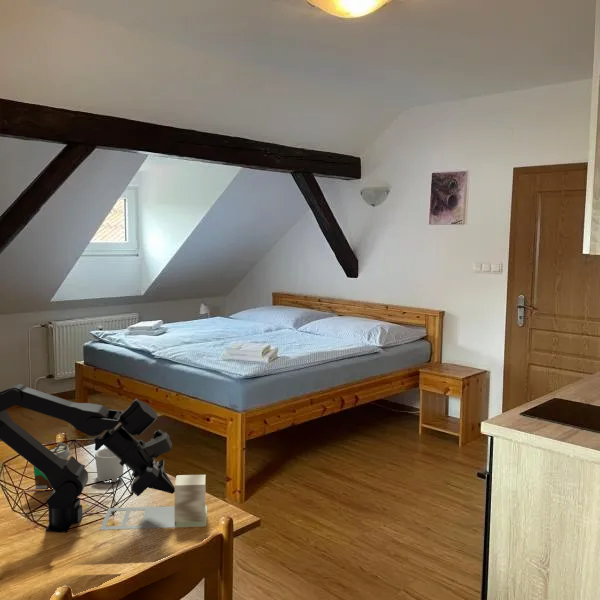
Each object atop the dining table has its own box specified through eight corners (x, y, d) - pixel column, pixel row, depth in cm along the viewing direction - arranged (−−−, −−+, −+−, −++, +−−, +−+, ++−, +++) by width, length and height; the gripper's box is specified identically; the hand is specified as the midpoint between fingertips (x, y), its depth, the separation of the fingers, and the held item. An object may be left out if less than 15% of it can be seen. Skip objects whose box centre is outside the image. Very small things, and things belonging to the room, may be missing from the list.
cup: (86, 476, 172) (85, 448, 171) (112, 469, 178) (112, 442, 177) (103, 488, 164) (102, 459, 163) (130, 481, 170) (130, 453, 169)
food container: (53, 496, 159) (52, 459, 158) (32, 493, 160) (31, 456, 159) (79, 477, 171) (79, 443, 170) (59, 475, 172) (59, 441, 171)
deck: (99, 536, 139) (99, 529, 139) (108, 514, 150) (108, 508, 150) (205, 532, 142) (206, 526, 142) (207, 510, 153) (207, 505, 153)
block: (174, 522, 143) (174, 485, 142) (176, 510, 149) (176, 475, 148) (204, 521, 144) (204, 484, 143) (205, 509, 150) (205, 474, 149)
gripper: (146, 437, 134) (197, 484, 136) (155, 412, 152) (200, 454, 155) (109, 472, 134) (161, 519, 136) (123, 443, 152) (168, 484, 155)
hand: (174, 491), depth 146 cm, fingers closed, pressing on block
